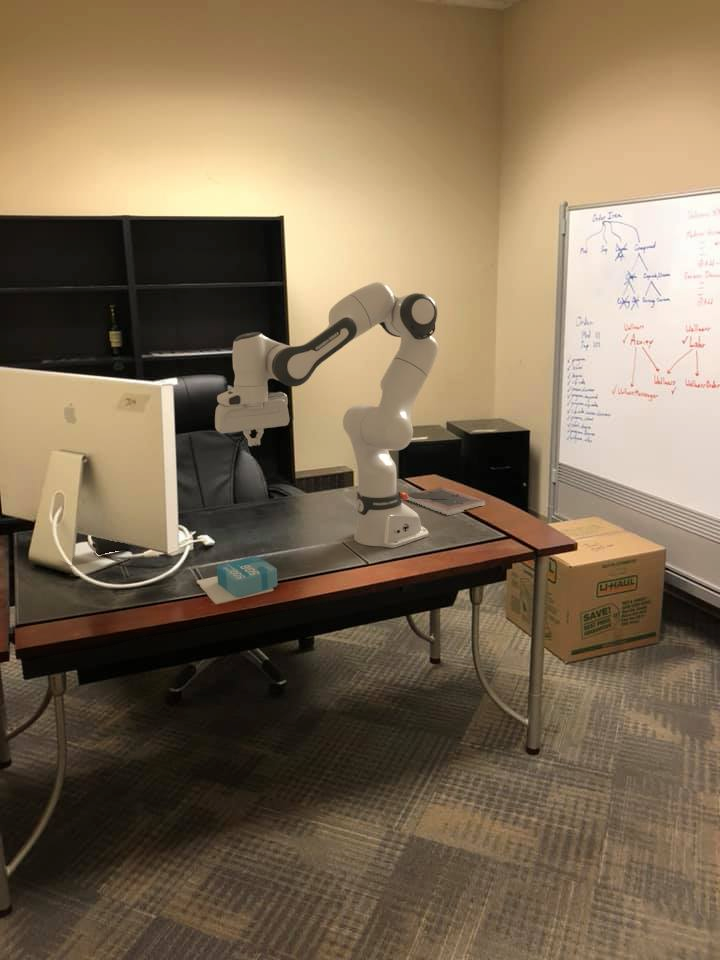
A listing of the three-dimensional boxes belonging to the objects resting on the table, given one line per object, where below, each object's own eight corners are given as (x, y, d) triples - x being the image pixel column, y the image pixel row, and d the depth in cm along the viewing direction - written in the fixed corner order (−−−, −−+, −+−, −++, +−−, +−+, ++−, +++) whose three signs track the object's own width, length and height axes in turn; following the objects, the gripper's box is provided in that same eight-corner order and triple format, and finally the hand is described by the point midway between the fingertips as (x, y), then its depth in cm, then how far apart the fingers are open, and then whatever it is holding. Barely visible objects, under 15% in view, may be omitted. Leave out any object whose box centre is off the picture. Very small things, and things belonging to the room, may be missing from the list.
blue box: (279, 569, 185) (235, 581, 179) (280, 586, 187) (236, 598, 180) (256, 555, 195) (214, 566, 188) (257, 571, 196) (215, 582, 189)
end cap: (100, 560, 206) (97, 537, 204) (91, 553, 212) (89, 530, 210) (135, 551, 212) (132, 529, 210) (126, 544, 217) (123, 523, 216)
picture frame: (405, 501, 255) (448, 517, 238) (405, 494, 254) (448, 510, 237) (441, 492, 264) (484, 507, 247) (441, 485, 263) (485, 500, 247)
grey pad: (251, 570, 198) (251, 568, 198) (273, 590, 185) (273, 588, 185) (196, 582, 191) (196, 580, 191) (215, 604, 178) (215, 602, 178)
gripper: (282, 389, 205) (284, 438, 209) (211, 396, 195) (214, 447, 199) (291, 392, 200) (294, 442, 204) (219, 400, 190) (222, 452, 194)
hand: (254, 445), depth 201 cm, fingers closed
